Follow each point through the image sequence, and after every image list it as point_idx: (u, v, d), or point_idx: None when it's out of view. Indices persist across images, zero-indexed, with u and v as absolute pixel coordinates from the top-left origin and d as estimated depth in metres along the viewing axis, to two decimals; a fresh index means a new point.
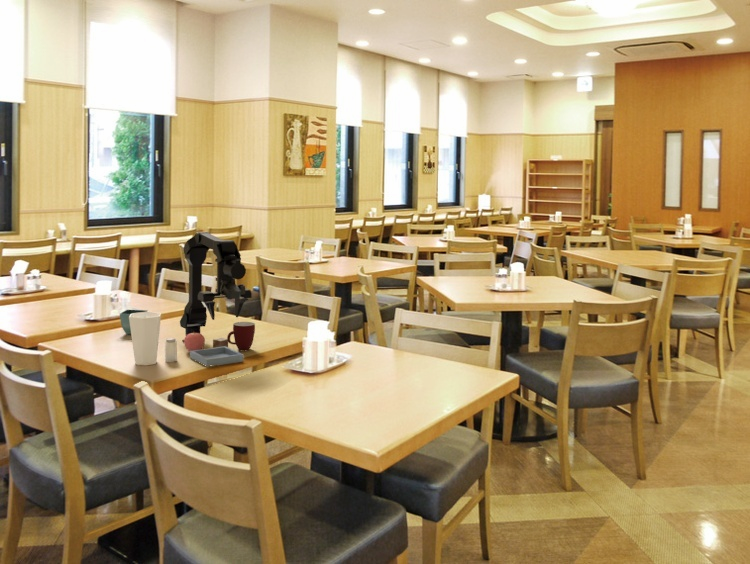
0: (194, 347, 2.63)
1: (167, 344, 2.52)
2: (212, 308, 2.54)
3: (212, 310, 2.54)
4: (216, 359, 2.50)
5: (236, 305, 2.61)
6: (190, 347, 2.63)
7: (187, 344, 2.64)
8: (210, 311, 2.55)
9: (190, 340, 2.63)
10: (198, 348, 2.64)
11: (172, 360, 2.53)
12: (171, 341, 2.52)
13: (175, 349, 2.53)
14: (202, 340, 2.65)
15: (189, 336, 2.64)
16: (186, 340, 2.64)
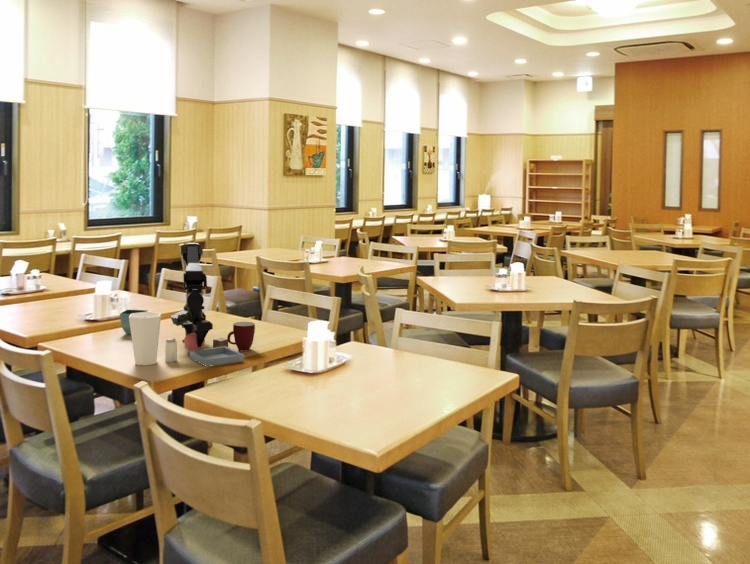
0: (194, 347, 2.63)
1: (167, 344, 2.52)
2: (185, 331, 2.69)
3: (186, 333, 2.69)
4: (216, 359, 2.50)
5: None
6: (190, 347, 2.63)
7: (187, 344, 2.64)
8: None
9: (190, 340, 2.63)
10: (198, 348, 2.64)
11: (172, 360, 2.53)
12: (171, 341, 2.52)
13: (175, 349, 2.53)
14: None
15: (189, 336, 2.64)
16: (186, 340, 2.64)
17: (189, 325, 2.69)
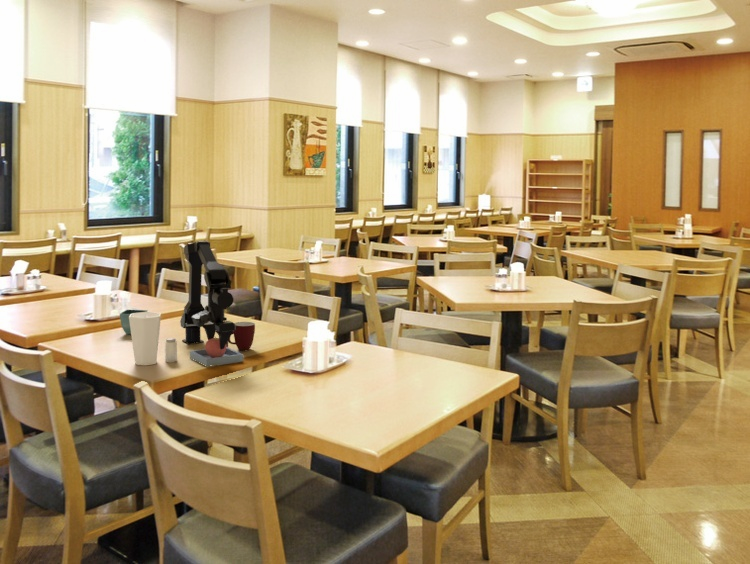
0: (216, 353, 2.54)
1: (167, 344, 2.52)
2: (206, 331, 2.60)
3: (206, 333, 2.60)
4: (216, 359, 2.50)
5: None
6: (212, 352, 2.54)
7: (208, 350, 2.54)
8: None
9: (212, 346, 2.53)
10: (220, 354, 2.55)
11: (172, 360, 2.53)
12: (171, 341, 2.52)
13: (175, 349, 2.53)
14: None
15: (211, 341, 2.54)
16: (207, 346, 2.54)
17: (209, 325, 2.60)
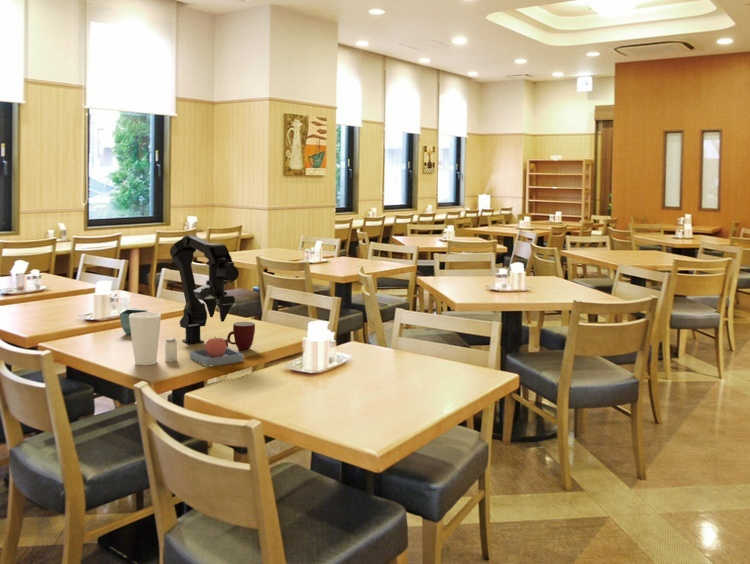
0: (216, 353, 2.54)
1: (167, 344, 2.52)
2: (207, 305, 2.71)
3: (207, 307, 2.72)
4: (216, 359, 2.50)
5: None
6: (212, 352, 2.54)
7: (209, 350, 2.54)
8: None
9: (212, 346, 2.53)
10: (220, 354, 2.55)
11: (172, 360, 2.53)
12: (171, 341, 2.52)
13: (175, 349, 2.53)
14: (224, 345, 2.55)
15: (211, 341, 2.54)
16: (207, 346, 2.54)
17: (210, 300, 2.72)
